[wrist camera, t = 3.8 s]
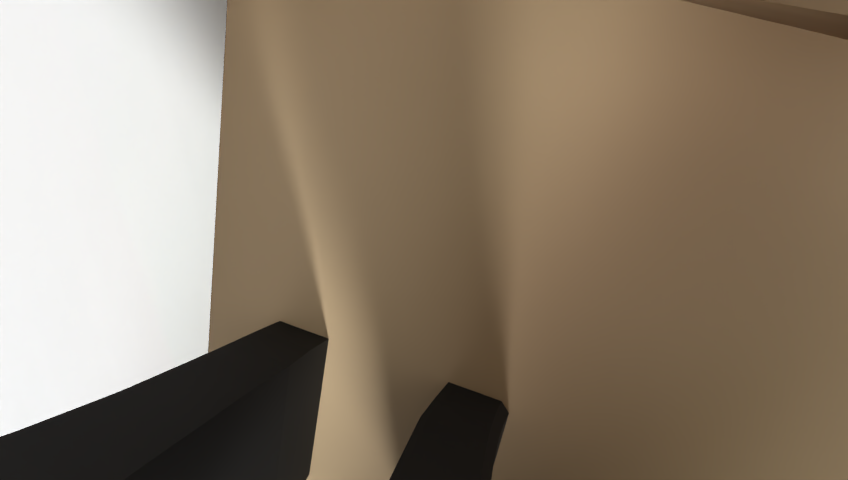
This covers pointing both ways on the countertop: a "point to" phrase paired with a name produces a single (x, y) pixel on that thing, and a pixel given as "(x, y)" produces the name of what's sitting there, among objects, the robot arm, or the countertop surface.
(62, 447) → the robot arm
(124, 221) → the countertop surface
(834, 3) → the plank
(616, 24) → the plank
